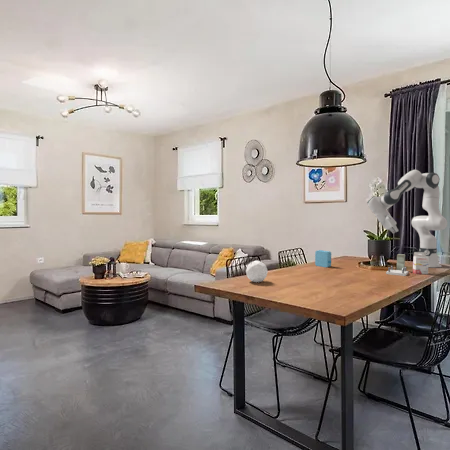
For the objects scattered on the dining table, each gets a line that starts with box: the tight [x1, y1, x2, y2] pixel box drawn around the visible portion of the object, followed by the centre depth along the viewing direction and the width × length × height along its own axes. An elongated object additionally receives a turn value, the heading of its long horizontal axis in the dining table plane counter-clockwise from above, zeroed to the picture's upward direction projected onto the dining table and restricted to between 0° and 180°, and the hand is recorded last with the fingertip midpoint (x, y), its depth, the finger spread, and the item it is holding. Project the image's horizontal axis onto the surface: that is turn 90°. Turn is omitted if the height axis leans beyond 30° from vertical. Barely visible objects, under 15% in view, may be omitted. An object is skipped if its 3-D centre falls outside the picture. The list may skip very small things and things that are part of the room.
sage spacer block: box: [396, 253, 406, 270], centre depth 265 cm, size 4×4×12 cm
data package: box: [314, 249, 332, 268], centre depth 285 cm, size 12×4×12 cm, turn 37°
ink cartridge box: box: [412, 251, 429, 275], centre depth 255 cm, size 9×5×15 cm, turn 84°
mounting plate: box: [385, 268, 409, 277], centre depth 255 cm, size 12×12×2 cm
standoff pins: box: [387, 265, 407, 273], centre depth 255 cm, size 10×10×3 cm
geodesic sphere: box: [245, 259, 268, 283], centre depth 228 cm, size 14×14×14 cm
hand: (396, 232), depth 264 cm, fingers open, 8 cm apart
